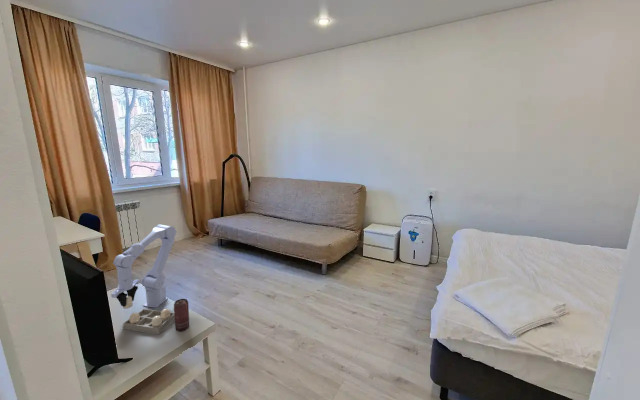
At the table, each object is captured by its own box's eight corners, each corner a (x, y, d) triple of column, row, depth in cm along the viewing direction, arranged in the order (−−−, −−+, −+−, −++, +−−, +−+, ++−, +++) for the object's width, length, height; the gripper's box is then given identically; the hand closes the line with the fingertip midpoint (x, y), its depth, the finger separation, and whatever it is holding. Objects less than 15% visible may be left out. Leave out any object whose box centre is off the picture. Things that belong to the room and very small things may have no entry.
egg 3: (156, 323, 131) (155, 313, 130) (164, 324, 130) (163, 314, 129) (150, 329, 127) (149, 318, 126) (158, 330, 126) (157, 319, 125)
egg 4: (165, 316, 136) (164, 306, 135) (172, 317, 136) (171, 307, 135) (159, 321, 133) (158, 311, 132) (166, 322, 132) (166, 312, 131)
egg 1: (127, 303, 137) (126, 293, 136) (134, 304, 137) (133, 294, 136) (120, 308, 133) (119, 297, 132) (128, 309, 133) (127, 298, 132)
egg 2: (134, 320, 132) (133, 310, 131) (142, 321, 132) (141, 311, 131) (128, 325, 128) (127, 315, 127) (135, 327, 128) (134, 316, 127)
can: (184, 333, 127) (182, 306, 124) (172, 330, 128) (170, 304, 125) (192, 325, 132) (191, 299, 130) (181, 323, 134) (179, 297, 131)
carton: (143, 313, 139) (143, 308, 139) (176, 318, 137) (175, 312, 137) (123, 329, 127) (123, 323, 127) (158, 334, 125) (158, 328, 125)
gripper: (130, 270, 140) (132, 294, 142) (104, 284, 126) (107, 310, 128) (142, 272, 139) (144, 296, 141) (117, 286, 125) (120, 312, 127)
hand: (127, 303), depth 135 cm, fingers closed on egg 1, 4 cm apart
